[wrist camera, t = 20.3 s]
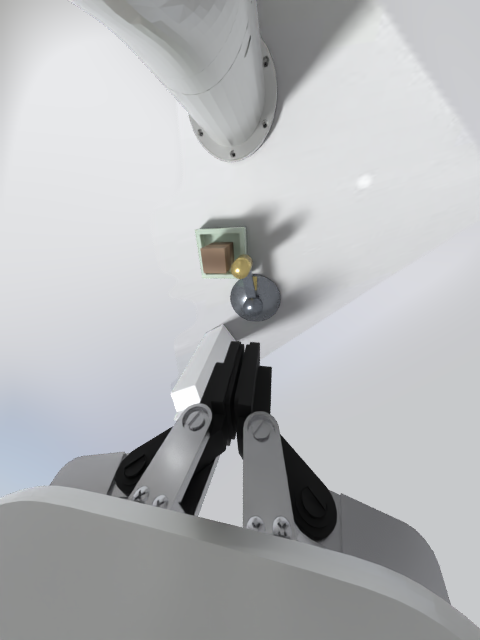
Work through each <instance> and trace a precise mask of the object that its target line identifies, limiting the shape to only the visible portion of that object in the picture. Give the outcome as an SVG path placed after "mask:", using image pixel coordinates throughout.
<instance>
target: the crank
mask: <svg viewBox="0 0 480 640" xmlns="http://www.w3.org/2000/svg"><path fill="white" fill-rule="evenodd" d="M251 267H252V259H251V257H250V256H248V255H246V254H242V255H240V256H239V257H238V258H237V259H236V260H235V261H234V263H233V264H232V266H231V273H232V275H233V276H234V277H236V278H238V279H243V283H244V288H245V293H246V297H247V299H246V300H245V302H244V305H243V310H244V312H245V313H246V314H247V315H248V316H251V317H256V316H258V315H260V314H261V312H262V310H263V302H262V300H261V299H260V298H258V297H256V292H255V287H254V281H253V276H252V270H251Z"/></svg>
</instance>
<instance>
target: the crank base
mask: <svg viewBox="0 0 480 640" xmlns="http://www.w3.org/2000/svg"><path fill="white" fill-rule="evenodd" d="M252 276H253V281H254V287H255V292H256V297H258V298H260V299H261V300H262V302H263V310H262V312H261V314H260V315H258V316H256V317H251V316H248V315H247V314H246V313H245V312H244V310H243V305H244V302H245V300H246V299H247V297H246V293H245V288H244V283H243V279H240V280H239V281H238V282H237V283H236V284H235V285H234V287H233V289H232V291H231V296H230V300H231V304H232V307H233V309H234V310H235V312H236V313H237V314H238V315H239V316H241V317H242V318H244V319H246V320H250V321H263V320H266V319H268V318H270V317H271V316H272V315H274V314H275V312H276V311H277V309H278V307H279V305H280V293H279V290H278V288H277V286H276V285H275V284H274V283H273V282H272V281H271V280H270V279H268V278H266V277H264V276H260V275H252Z"/></svg>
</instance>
